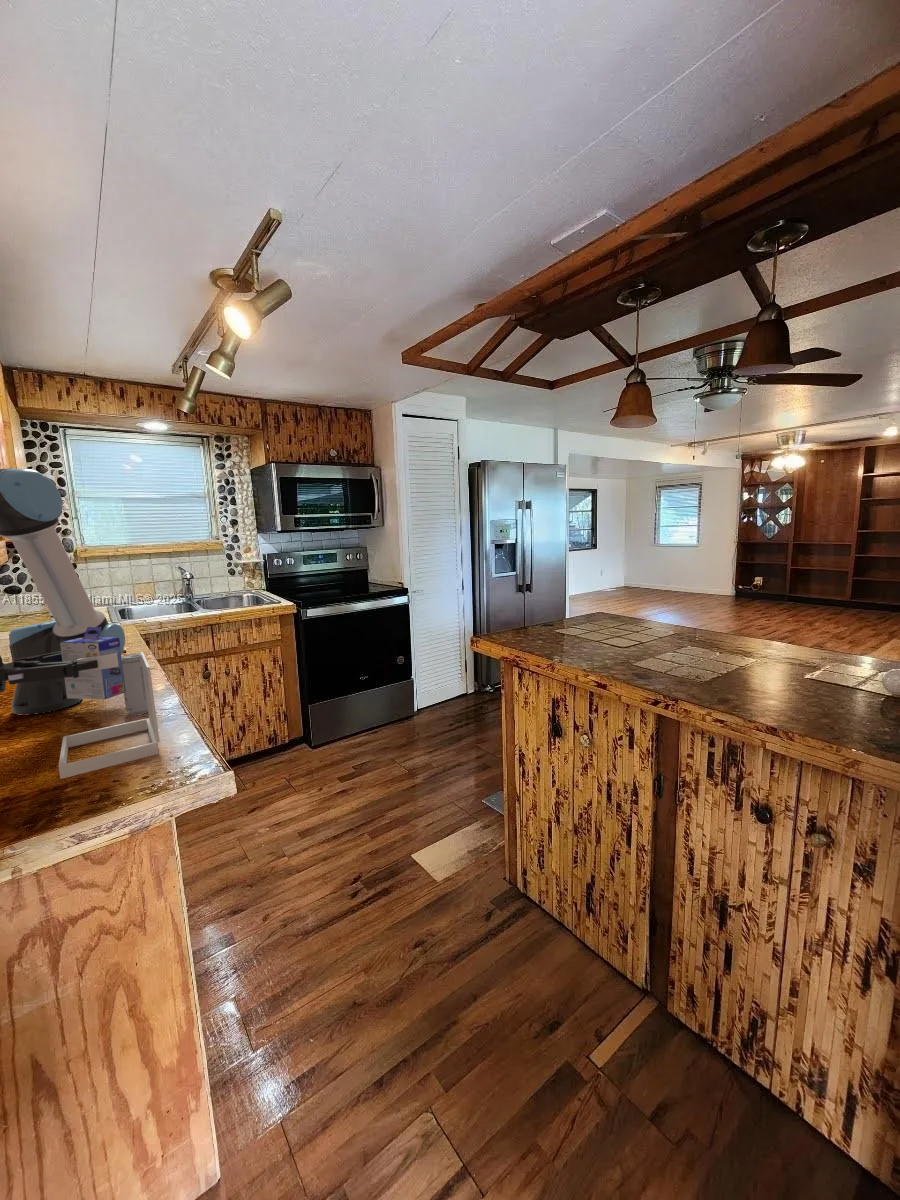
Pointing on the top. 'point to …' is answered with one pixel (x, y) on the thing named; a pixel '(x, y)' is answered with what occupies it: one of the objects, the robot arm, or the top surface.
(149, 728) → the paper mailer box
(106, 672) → the ink cartridge box
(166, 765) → the top surface
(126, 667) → the energy drink can
